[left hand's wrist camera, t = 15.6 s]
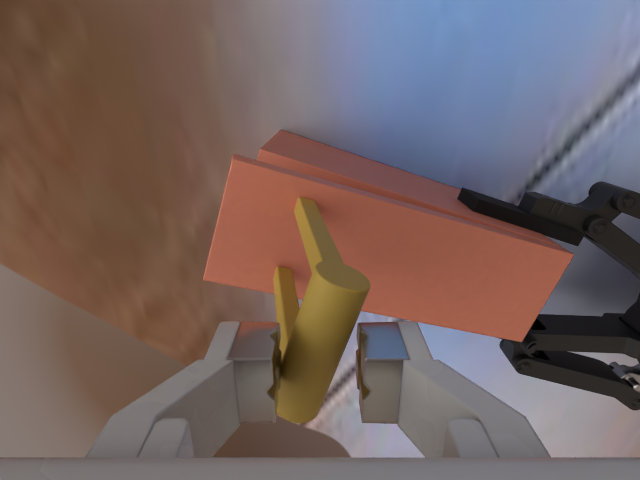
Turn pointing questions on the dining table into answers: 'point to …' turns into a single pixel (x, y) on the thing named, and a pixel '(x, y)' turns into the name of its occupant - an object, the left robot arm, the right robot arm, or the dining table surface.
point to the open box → (375, 179)
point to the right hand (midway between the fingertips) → (445, 246)
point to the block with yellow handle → (366, 269)
